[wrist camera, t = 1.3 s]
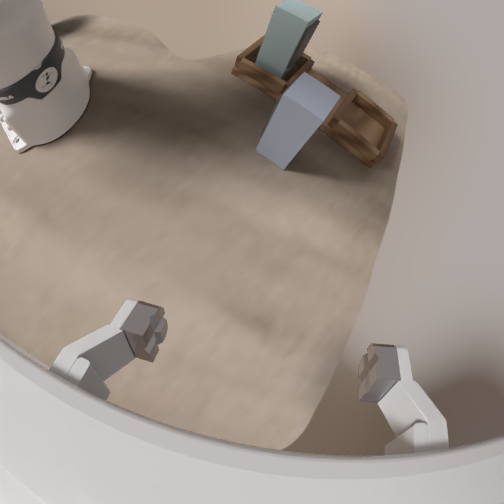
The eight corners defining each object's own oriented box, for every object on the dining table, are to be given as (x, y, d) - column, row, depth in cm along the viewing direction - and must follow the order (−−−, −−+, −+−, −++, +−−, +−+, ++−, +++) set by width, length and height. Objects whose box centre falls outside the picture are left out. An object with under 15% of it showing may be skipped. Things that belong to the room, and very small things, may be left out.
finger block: (252, 149, 40) (280, 92, 26) (270, 127, 41) (301, 69, 27) (283, 170, 40) (323, 121, 27) (299, 147, 41) (340, 96, 28)
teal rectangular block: (253, 67, 40) (275, 5, 26) (268, 54, 41) (292, -4, 27) (281, 83, 41) (310, 24, 27) (294, 69, 42) (325, 13, 28)
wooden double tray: (231, 73, 41) (235, 58, 37) (262, 47, 43) (267, 33, 39) (369, 167, 44) (382, 159, 40) (386, 132, 46) (398, 123, 42)
